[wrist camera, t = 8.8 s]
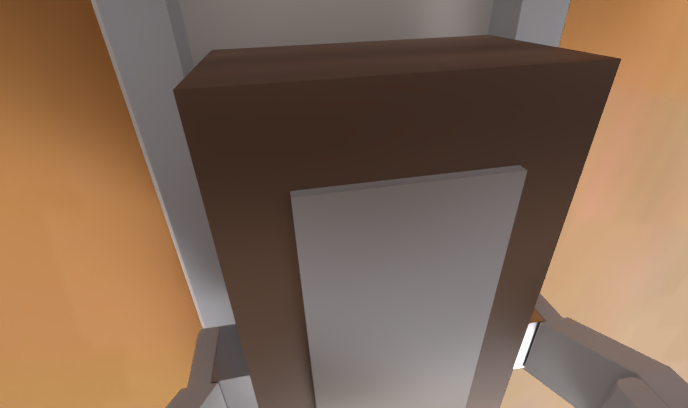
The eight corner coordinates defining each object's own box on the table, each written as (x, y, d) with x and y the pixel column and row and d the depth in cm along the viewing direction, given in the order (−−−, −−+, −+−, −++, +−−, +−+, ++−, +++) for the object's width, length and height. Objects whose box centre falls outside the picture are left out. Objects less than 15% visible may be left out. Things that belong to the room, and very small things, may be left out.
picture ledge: (63, -173, 7) (-33, -252, 5) (551, -158, 9) (651, -213, 6) (246, 420, 18) (243, 480, 16) (446, 380, 20) (469, 430, 18)
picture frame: (211, 50, 7) (169, 93, 4) (488, 34, 8) (633, 60, 5) (288, 426, 14) (294, 547, 11) (429, 396, 15) (472, 501, 12)
